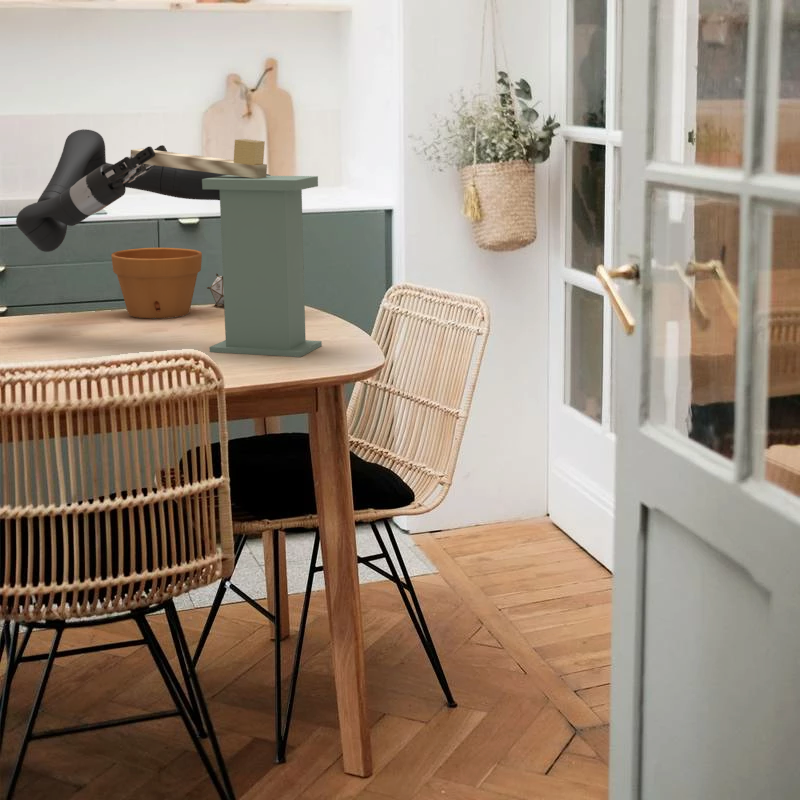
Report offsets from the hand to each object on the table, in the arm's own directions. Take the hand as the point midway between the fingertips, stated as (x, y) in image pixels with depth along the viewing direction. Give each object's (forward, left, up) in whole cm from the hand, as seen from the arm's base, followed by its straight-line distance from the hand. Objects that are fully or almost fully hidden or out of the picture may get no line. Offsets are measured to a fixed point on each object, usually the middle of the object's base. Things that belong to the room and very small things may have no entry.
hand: (158, 150), depth 266 cm
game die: (-28, -40, -41) cm, 64 cm away
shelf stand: (-16, +16, -40) cm, 46 cm away
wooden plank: (-6, +6, -4) cm, 9 cm away
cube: (-14, +14, -2) cm, 20 cm away
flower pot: (-10, -37, -41) cm, 56 cm away
